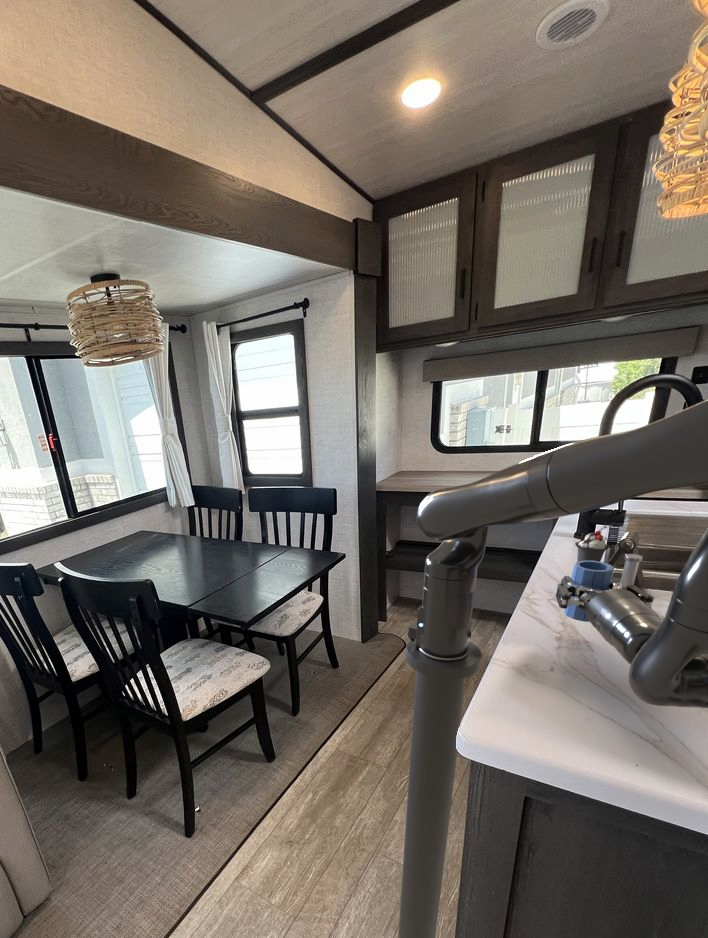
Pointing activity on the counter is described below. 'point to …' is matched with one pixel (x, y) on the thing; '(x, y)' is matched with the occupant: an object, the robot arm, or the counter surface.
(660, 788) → the counter surface
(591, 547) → the sundae
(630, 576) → the wooden base post
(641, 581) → the phone stand
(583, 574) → the blue sleeve
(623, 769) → the counter surface
